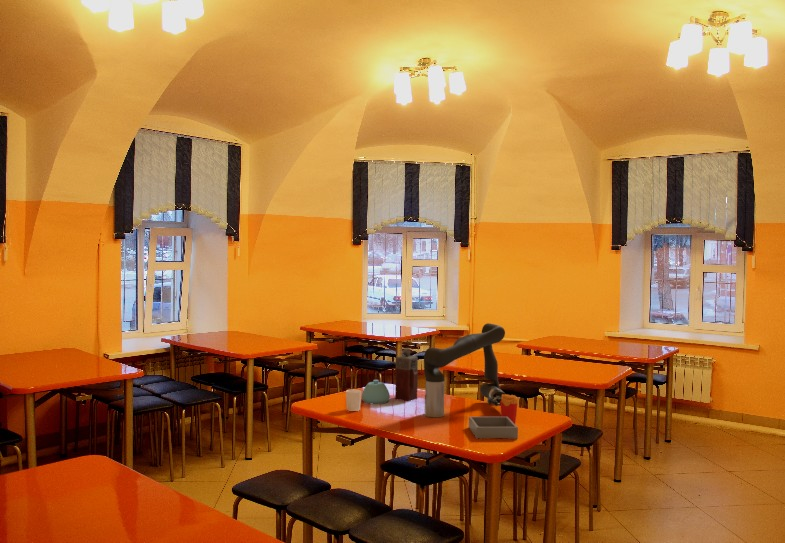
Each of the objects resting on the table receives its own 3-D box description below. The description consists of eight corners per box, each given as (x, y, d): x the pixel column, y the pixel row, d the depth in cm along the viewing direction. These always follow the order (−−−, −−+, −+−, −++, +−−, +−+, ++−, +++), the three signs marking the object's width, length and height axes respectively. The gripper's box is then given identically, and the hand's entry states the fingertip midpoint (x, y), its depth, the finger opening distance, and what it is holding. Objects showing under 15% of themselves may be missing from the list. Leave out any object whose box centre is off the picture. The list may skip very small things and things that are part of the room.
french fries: (498, 420, 298) (498, 393, 298) (504, 419, 301) (504, 392, 300) (513, 424, 291) (514, 397, 291) (519, 423, 294) (519, 396, 293)
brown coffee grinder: (412, 401, 334) (413, 350, 333) (395, 399, 340) (395, 348, 339) (420, 398, 342) (421, 348, 341) (403, 396, 348) (404, 346, 347)
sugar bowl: (373, 396, 345) (373, 376, 345) (395, 400, 336) (395, 379, 336) (356, 401, 333) (356, 380, 333) (378, 406, 324) (378, 384, 324)
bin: (476, 439, 267) (476, 427, 267) (468, 427, 285) (469, 416, 285) (517, 438, 269) (517, 427, 269) (507, 427, 287) (507, 416, 286)
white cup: (355, 413, 309) (355, 393, 308) (342, 410, 313) (342, 391, 312) (364, 410, 315) (364, 390, 315) (351, 407, 319) (351, 388, 319)
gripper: (484, 389, 318) (491, 396, 302) (511, 389, 319) (520, 396, 303) (483, 403, 318) (491, 411, 302) (511, 403, 319) (519, 411, 303)
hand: (505, 404), depth 302 cm, fingers open, 8 cm apart
